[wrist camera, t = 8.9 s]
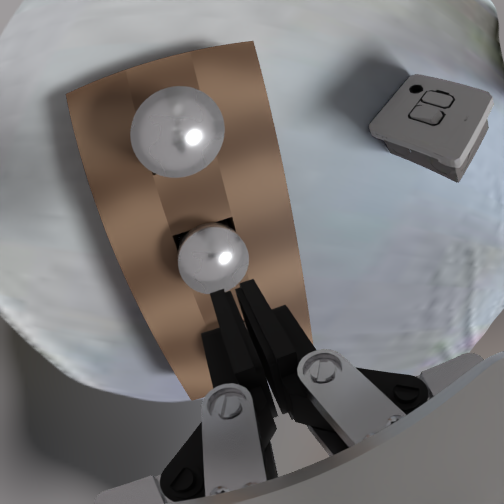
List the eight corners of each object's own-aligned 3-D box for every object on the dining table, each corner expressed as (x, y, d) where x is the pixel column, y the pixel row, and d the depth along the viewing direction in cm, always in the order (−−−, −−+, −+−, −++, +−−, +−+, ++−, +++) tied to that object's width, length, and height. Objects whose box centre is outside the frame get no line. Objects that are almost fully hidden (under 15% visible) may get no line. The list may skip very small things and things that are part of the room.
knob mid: (168, 221, 21) (168, 241, 17) (225, 203, 21) (239, 218, 17) (186, 273, 22) (191, 302, 18) (239, 255, 23) (255, 281, 19)
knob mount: (81, 100, 16) (65, 94, 13) (240, 55, 18) (253, 40, 15) (187, 375, 27) (191, 400, 24) (300, 335, 29) (314, 357, 25)
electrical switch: (410, 72, 21) (487, 76, 14) (430, 111, 24) (502, 124, 16) (362, 128, 22) (448, 144, 15) (388, 168, 25) (466, 195, 17)
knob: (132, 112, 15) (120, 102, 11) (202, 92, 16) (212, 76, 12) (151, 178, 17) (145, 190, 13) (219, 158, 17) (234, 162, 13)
